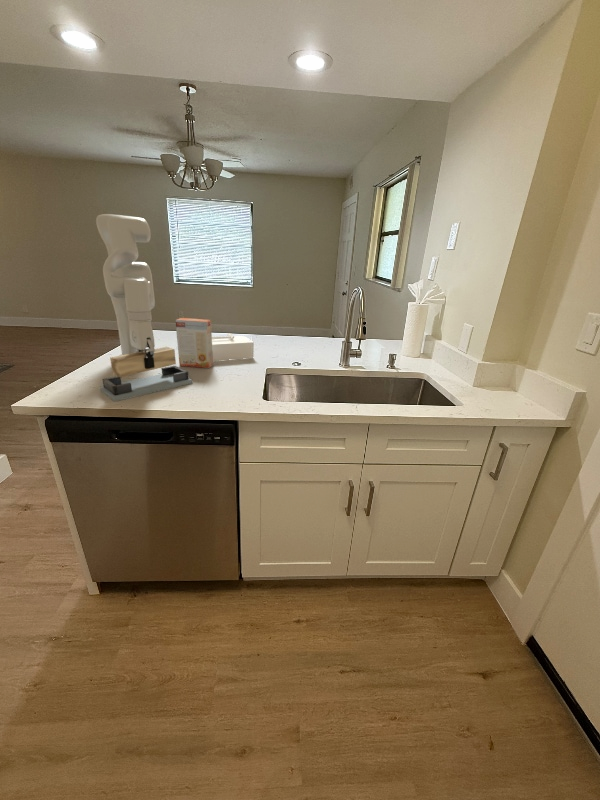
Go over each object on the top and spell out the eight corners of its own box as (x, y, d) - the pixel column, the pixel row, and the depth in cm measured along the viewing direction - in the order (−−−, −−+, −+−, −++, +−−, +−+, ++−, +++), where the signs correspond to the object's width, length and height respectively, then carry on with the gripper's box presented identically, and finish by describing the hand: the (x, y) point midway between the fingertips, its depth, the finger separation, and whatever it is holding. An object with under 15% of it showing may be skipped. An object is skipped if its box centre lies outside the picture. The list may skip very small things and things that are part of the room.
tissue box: (253, 359, 171) (253, 337, 166) (203, 363, 160) (202, 340, 155) (244, 351, 182) (244, 331, 178) (197, 355, 171) (195, 333, 167)
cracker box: (213, 364, 157) (211, 319, 149) (209, 368, 152) (206, 321, 143) (184, 362, 158) (180, 317, 150) (178, 366, 152) (174, 319, 144)
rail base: (100, 390, 122) (98, 378, 120) (176, 374, 142) (175, 364, 140) (114, 401, 114) (112, 388, 112) (192, 383, 133) (191, 372, 132)
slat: (112, 374, 117) (109, 357, 115) (167, 361, 134) (166, 346, 132) (120, 377, 115) (117, 360, 112) (175, 364, 132) (174, 349, 129)
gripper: (118, 313, 120) (126, 362, 127) (139, 320, 109) (146, 373, 116) (140, 312, 125) (146, 359, 132) (161, 318, 115) (167, 369, 121)
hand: (146, 365), depth 124 cm, fingers closed on slat, 5 cm apart
